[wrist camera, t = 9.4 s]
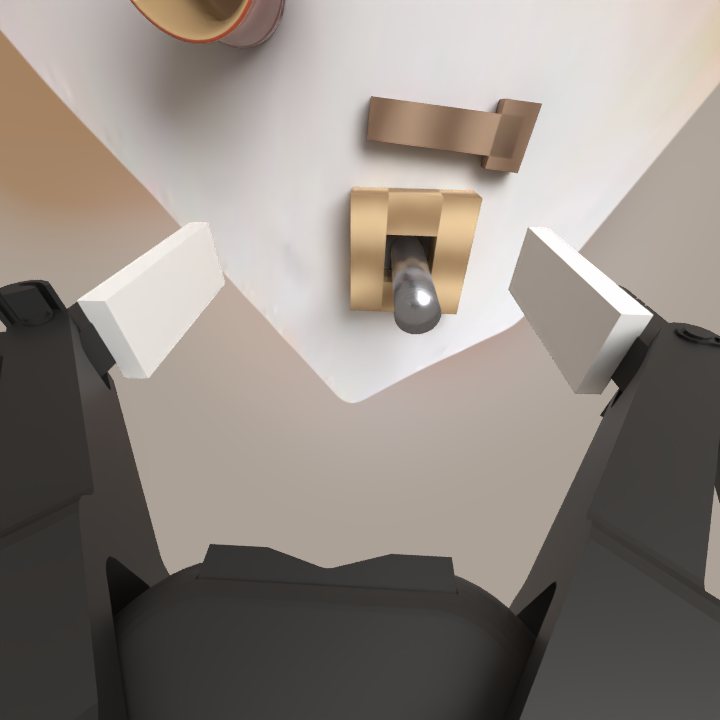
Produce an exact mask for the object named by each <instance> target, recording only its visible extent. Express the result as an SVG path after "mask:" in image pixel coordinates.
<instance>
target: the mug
mask: <svg viewBox="0 0 720 720" xmlns="http://www.w3.org/2000/svg"><path fill="white" fill-rule="evenodd" d="M130 1H131V2H132V3H133V4H134V6H135V7H136V8H137V9H138V10H139V11H140V12H141V13H142V14H143V15H144V16H145V17H146V18H147V19H148V20H149V21H150V22H151V23H153V24H154V25H155V26H156V27H158V28H159V29H160V30H162V31H163V32H165V33H167V34H168V35H170V36H172V37H174V38H176V39H179V40H182V41H185V42H189V43H196V44H206V43H212V42H215V41H220V42H222V43H224V44H226V45H228V46H231V47H235V48H248V47H252V46H255V45H258V44H261V43H263V42H264V41H266V40H267V39H268V38H269V37H270V36H271V35H272V34H273V33H274V31H275V30H276V28H277V26H278V25H279V22H280V20H281V17H282V15H283V10H284V4H285V0H130Z"/></svg>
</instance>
